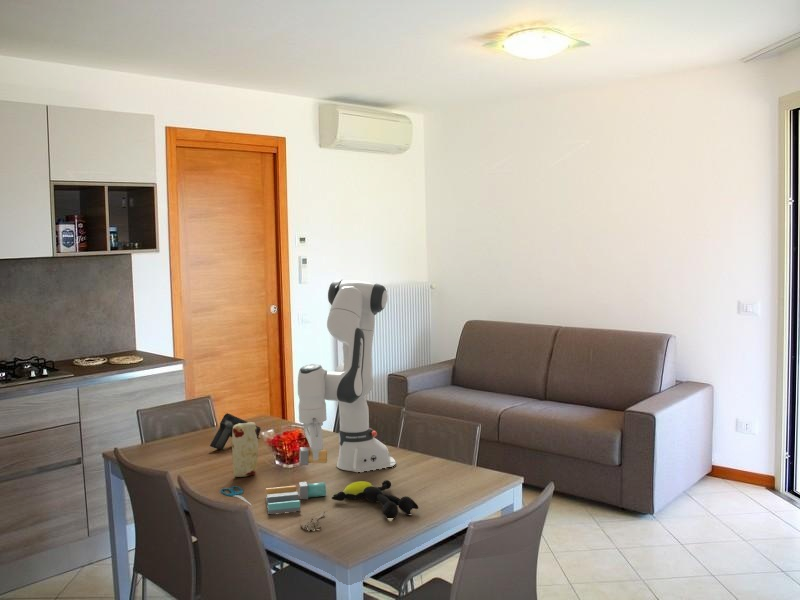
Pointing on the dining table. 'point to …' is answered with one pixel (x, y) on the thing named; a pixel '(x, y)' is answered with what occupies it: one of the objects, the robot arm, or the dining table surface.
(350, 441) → the robot arm
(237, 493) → the scissors
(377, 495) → the toy
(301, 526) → the leaf
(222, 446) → the handgun
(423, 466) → the dining table surface
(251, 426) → the food model
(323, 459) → the tan and gray block
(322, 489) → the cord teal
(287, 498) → the rack
